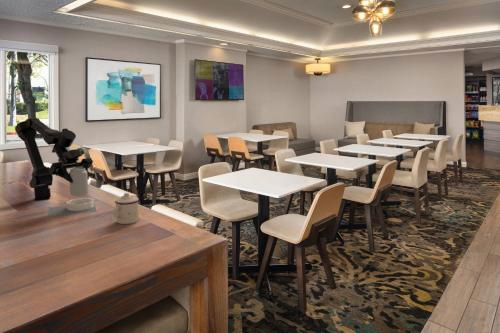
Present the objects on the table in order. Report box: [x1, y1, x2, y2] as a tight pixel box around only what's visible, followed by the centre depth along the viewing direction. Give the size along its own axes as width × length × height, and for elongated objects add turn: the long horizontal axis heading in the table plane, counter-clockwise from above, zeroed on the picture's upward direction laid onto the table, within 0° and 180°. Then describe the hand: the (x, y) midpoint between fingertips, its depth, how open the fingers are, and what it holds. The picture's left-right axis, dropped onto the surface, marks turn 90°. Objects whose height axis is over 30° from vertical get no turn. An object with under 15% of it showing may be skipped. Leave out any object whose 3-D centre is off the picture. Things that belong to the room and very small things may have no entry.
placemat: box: [47, 203, 97, 218], centre depth 168 cm, size 19×16×1 cm
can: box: [68, 167, 89, 197], centre depth 169 cm, size 8×8×12 cm
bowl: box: [66, 197, 95, 211], centre depth 171 cm, size 11×11×3 cm
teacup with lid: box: [112, 192, 140, 225], centre depth 152 cm, size 12×9×12 cm
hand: (80, 180), depth 168 cm, fingers closed on can, 7 cm apart
